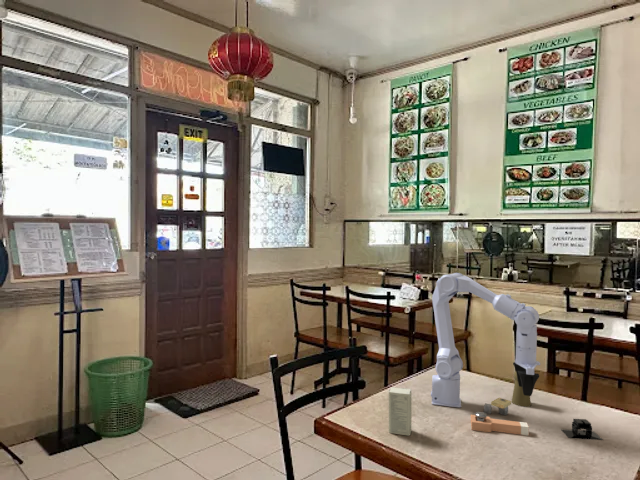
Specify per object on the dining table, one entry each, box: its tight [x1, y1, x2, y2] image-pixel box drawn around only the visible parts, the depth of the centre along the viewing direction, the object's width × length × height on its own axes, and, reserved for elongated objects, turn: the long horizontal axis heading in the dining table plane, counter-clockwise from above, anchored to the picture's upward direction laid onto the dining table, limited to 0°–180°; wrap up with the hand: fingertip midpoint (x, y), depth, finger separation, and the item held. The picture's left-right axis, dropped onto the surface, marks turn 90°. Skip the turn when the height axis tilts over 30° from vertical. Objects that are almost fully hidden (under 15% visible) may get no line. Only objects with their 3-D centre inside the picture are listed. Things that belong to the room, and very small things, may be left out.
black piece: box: [560, 418, 604, 441], centre depth 129 cm, size 12×7×5 cm, turn 84°
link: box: [470, 414, 530, 436], centre depth 131 cm, size 16×5×2 cm, turn 75°
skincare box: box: [388, 386, 412, 436], centre depth 129 cm, size 6×4×12 cm
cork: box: [511, 370, 532, 408], centre depth 152 cm, size 6×6×11 cm
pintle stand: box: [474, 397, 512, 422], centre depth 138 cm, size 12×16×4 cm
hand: (524, 390), depth 136 cm, fingers open, 7 cm apart
